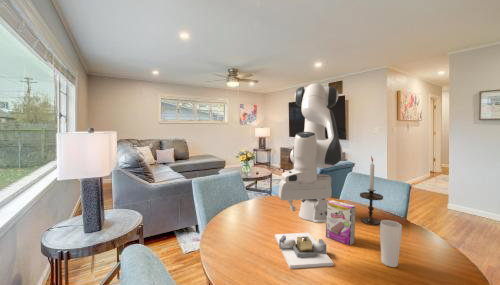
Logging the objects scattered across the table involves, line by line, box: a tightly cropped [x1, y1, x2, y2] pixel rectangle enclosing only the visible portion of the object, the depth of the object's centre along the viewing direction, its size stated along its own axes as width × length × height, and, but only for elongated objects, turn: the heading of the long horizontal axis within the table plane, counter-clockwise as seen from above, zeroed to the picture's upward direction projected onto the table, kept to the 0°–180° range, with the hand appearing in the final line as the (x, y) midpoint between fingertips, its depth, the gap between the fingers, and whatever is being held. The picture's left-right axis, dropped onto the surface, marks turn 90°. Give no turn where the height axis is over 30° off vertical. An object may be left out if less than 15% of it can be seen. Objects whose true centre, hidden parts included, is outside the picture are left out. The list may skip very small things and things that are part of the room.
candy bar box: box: [325, 199, 357, 247], centre depth 101 cm, size 11×5×16 cm, turn 44°
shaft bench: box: [274, 232, 334, 269], centre depth 93 cm, size 17×24×5 cm
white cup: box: [379, 219, 403, 268], centre depth 84 cm, size 7×7×15 cm
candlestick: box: [359, 155, 384, 227], centre depth 121 cm, size 11×11×35 cm
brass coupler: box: [297, 236, 312, 253], centre depth 90 cm, size 4×4×6 cm
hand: (304, 210), depth 89 cm, fingers open, 8 cm apart
